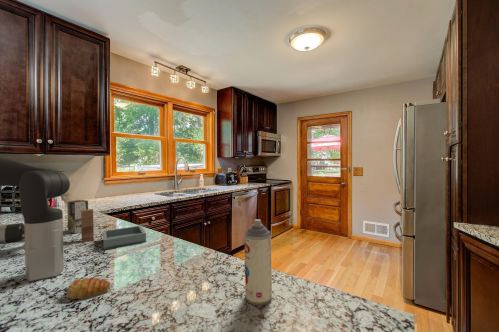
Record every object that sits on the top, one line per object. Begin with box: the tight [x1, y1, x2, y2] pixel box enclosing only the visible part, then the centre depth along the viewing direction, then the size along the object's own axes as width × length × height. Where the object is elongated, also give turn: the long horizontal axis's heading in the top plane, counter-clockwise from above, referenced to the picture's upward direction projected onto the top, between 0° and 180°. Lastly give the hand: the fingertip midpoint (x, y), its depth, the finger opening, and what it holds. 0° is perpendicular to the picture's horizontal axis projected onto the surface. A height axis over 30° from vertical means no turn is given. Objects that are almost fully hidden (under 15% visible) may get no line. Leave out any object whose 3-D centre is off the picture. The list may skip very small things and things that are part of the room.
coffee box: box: [66, 199, 89, 234], centre depth 121 cm, size 9×6×16 cm
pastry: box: [66, 276, 111, 300], centre depth 62 cm, size 9×7×4 cm
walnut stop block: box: [81, 208, 95, 243], centre depth 105 cm, size 4×4×14 cm
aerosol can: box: [244, 218, 273, 307], centre depth 58 cm, size 7×7×20 cm
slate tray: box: [102, 225, 147, 251], centre depth 104 cm, size 16×16×4 cm
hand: (58, 227), depth 100 cm, fingers open, 8 cm apart
